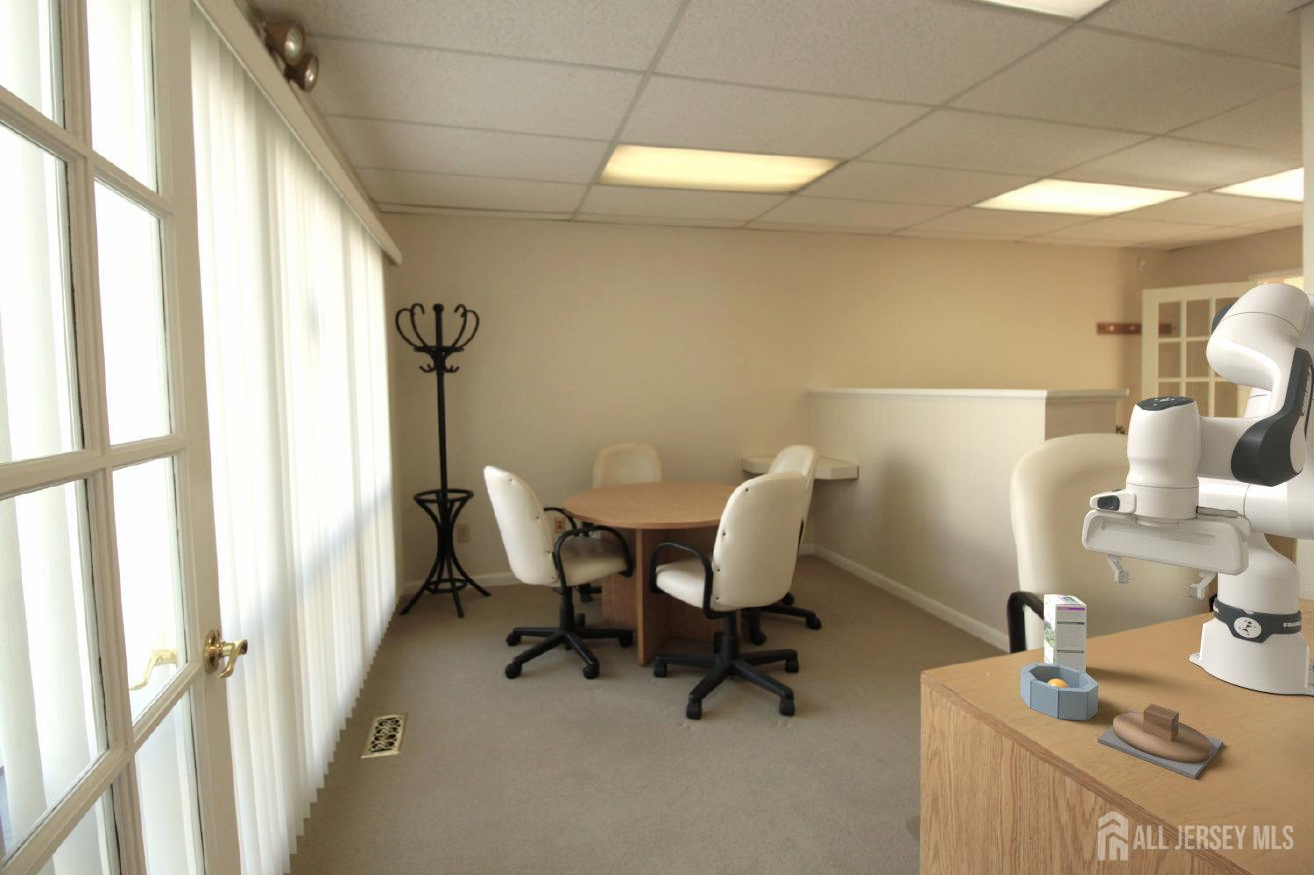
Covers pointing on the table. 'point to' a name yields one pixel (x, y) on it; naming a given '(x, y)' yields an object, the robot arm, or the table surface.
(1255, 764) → the table surface
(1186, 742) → the lid
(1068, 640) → the syrup box
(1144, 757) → the mat
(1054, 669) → the bowl
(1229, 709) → the table surface
